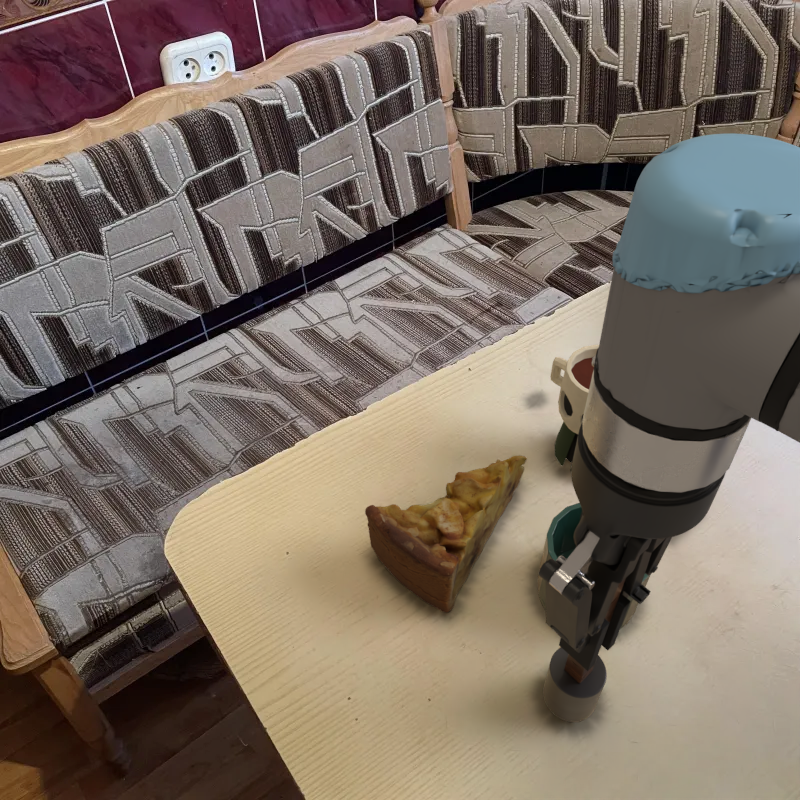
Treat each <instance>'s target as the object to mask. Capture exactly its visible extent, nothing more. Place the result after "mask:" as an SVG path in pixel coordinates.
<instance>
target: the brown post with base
mask: <svg viewBox="0 0 800 800" xmlns="http://www.w3.org/2000/svg"><path fill="white" fill-rule="evenodd" d="M625 579H626V578H625ZM625 579H624V580H623V581H622V582H621V583H619V585H618V587H617V590H616V592H615V595H614V597H613V600H612V602H611V604H610V607H609V609H608V612H607V614H606V617H605V619H606V620H607V621H608V622H609V623H610V620H611V618H612V615H613V612H614V609H615V607H616V604H617V601H618V598H619V596H620V593H621V590H622V587H623V585H624V582H625ZM607 629H608V628H607ZM606 632H607V631H606ZM603 640H604V639H603ZM602 643H603V642H602ZM600 651H601V649H600V650H599V653H598V656H597V659H596V662H595V664H594V666H593V667H592V668H591V669H590V670H589V671H587V670H586V669H585V668H583V667H582V666H581V665H580V664H579V663H578V662H577V661H576V660H575V659H574V658H572V657H571V656H570V655H569V654H568V653H567V652H566V651H565V650H564V649H563V648H561V647H559V648H558V649H557V650H556V651H554V653H553V654H552V656H551V659H550V662H549V665H548V669H547V672H546V677H545V680H544V685H543V689H542V695H543V700H544V703H545V705H546V707H547V708H548V710H549V712H551V713H552V714H553V715H554V716H555V717H557V718H559V719H561V720H563V721H566V722H569V723H570V722H571V723H578V722H581V721H584V720H586V719H588V718H590V716H592V715H593V713H594V712H595V710H596V707H597V705H598V702H599V701H600V698H601V695H602V693H603V690H604V687H605V685H606V682H607V674H608V673H607V667H606V665H605V662H604V660H603V659H602V657H601V656H600V655H599V654H600Z"/></svg>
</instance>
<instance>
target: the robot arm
mask: <svg viewBox="0 0 800 800" xmlns="http://www.w3.org/2000/svg"><path fill="white" fill-rule="evenodd" d="M611 258H612V259H611V260H612V261H611V262H612V267H613V271H612V276H611V281H610V287H609V290H608V291H609V292H608V297H607V302H606V307H605V312H604V318H603V322H602V328H601V333H600V339H599V343H598V345H599V348H598V350H597V353H596V355H595V356H594V357H593V358H592V366H593V367H594V370H593V374H592V379H591V383H590V388H589V393H588V397H587V401H586V406H585V410H584V415H583V419H582V424H581V426H580V429H579V433H578V438H577V443H576V447H575V452H574V457H573V461H572V463H571V465H572V467H571V466H570V469H571V471H570V474H571V475H570V476H571V483H572V487H573V490H574V492H575V495H576V498H577V500H578V503H580V505H581V508H582V513H581V516H580V522H579V524H578V526H577V527H576V529H575V532H574V536H573V539H574V543H575V545H576V548H575V550H574V551H573V552H572V553H571V555H570V556H569V557H568V558H567V559H566V558H565V557H564V556H562V555H561V556H559V557H558V558H557V560H556V561H555V560H554V559H549V560H547V561H546V562H545V563H544V564H543V565H542V566H541V569H540V571H539V570H538V573H539V576H540V577H541V578H543V579H544V580H545V581H546V611H545V624H546V625H547V626H548V627H549V628H550V629H551V630H552V631H553V632H554V633H555V634H557V635H558V636H559V637H560V639H559V644H558V646H559V648H563V649H564V650H565V651H566V652H567V653H568V654H569V655H570V656H571V657H572V658H574V659H575V660H576V661H577V662H578V663H579V664H580V665H581V666H582V667H583V668H585V669H586V670H587V671H589V670H590V669H591V668H592V667H593V666H594V664H595V662H596V659H597V656H598V655H599V654H600V651H601V648H602V647H603V648H604V649H605V650H606V651H609V650H610V649H611V648H612V647H613V646H614V645H615V643H616V641H617V638H618V636H619V633H620V630H621V629H622V628H621V625H622V623H623V620H624V618H625V615H626V612H627V610H628V607H629V605H630V602H631V601H630V600H629V599H628V596H630V597H631V598H633V599H634V600H635V601H636V602H637V603H638V605H641V604H642V603H644V602H645V601H646V599H647V598H648V597H649V595H650V594H651V590H650V589H649V588H647V587H645V586H643V585H642V581H643V578H644V575H645V574H647V575H648V576H649V575H650V574H651V575H653V574H654V573H655V572H656V571H657V570H658V568H659V567H658V566H659V564H660V563H661V561H662V558H663V556H664V555H665V553H666V551H667V548H668V546H669V544H670V542H671V541H672V538H673V537H677V536H680V535H683V534H684V533H685V534H686V533H687V532H689V531H691V530H692V529H694V528H695V527H697V526H698V525H699V524H700V523H701V522H702V521H703V520H704V518H705V517H706V516H707V514H708V513H709V510H710V509H711V508H712V505H713V502H714V500H715V498H716V496H717V493H718V491H719V489H720V487H721V486H722V483H723V480H724V478H725V476H726V473H727V471H728V470H729V469H730V468H731V466H732V463H733V460H734V459H735V456H736V454H737V452H738V450H739V447H740V445H741V443H742V440H743V438H744V436H745V434H746V431H747V429H748V427H749V425H750V422H751V421H752V419H753V420H754V421H757V422H759V423H762V424H763V425H766V426H767V427H769V428H771V429H773V430H775V431H776V432H778V433H781V434H783V435H785V436H787V437H789V438H791V439H792V440H794V441H795V442H798V443H800V146H797V145H795V144H792V143H789V142H786V141H783V140H780V139H777V138H772V137H768V136H763V135H755V134H749V133H748V134H747V133H735V132H733V133H712V134H705V135H699V136H695V137H691V138H688V139H685V140H682V141H679V142H677V143H675V144H672V145H670V146H669V147H668V148H666V149H665V150H664V151H662V152H661V153H659V154H657V155H655V156H654V157H652V158H651V160H650V161H649V162H648V163H647V164H646V165H645V166H644V168H643V169H642V171H641V173H640V175H639V177H638V179H637V180H636V184H635V187H634V190H633V194H632V197H631V200H630V203H629V207H628V210H627V214H626V218H625V221H624V224H623V227H622V232H621V235H620V238H619V240H618V241H617V243H616V247H615V249H614V251H613V252H612V257H611ZM651 575H650V576H651ZM625 578H626V579H625ZM624 579H625V582H624V585H623V587H622V590H621V593H620V596H619V598H618V601H617V604H616V607H615V609H614V612H613V615H612V618H611V620H610V623H609V622H608V621H607V620H606V619H605V617H606V614H607V612H608V609H609V607H610V604H611V602H612V600H613V597H614V595H615V592H616V590H617V587H618V585H619V583H621V582H622V581H623V580H624ZM607 628H608V629H607ZM620 628H621V629H620ZM606 631H607V632H606ZM603 639H604V640H603ZM602 642H603V643H602ZM599 650H600V651H599ZM598 653H599V654H598Z"/></svg>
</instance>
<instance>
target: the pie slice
mask: <svg viewBox="0 0 800 800" xmlns="http://www.w3.org/2000/svg"><path fill="white" fill-rule="evenodd" d="M527 460H528V457H526V456H525V455H512V456H510V457H509V458H506V459H502V460H501V459H499V458H498V459H496V461H495V462H492V463H490V464H489V465H488V466H486V467H479V468H475V469H472V470H469V471H457V472H456V473H455V476H454V480H453V481H451V482H447V483H446V485H445V493H446V495H445V496H443V497H439V498H438V499H436V500H434V501H433V502H431V503H427V504H421V505H420V504H413V505H410V506H409V507H408V508H406V509H401V508H400V507H399V506H398V505H397V504H394V503H392V504H389V505H387V506H381V505H380V506H376V505H374V504H370V505H368V506H367V507H366V508H365V510H364V514H365V516H366V519H367V528H368V533H369V534H368V535H369V540H370V546H371V548H372V550H373V552H374V553H375V555H376V557H377V559H378V560H379V561H380V562H381V564H382V565H383V566H384V567H385V569H386V570H387V571H388V572H389V573H390V574H391V575H392V576H393V577H394V578H395V579H396V580H397V581H398V582H399V583H400V584H401V585H402V586H403V587H405V588H406V589H407V590H408V591H410V592H411V593H412V594H414V595H415V596H416V597H417V598H419V599H420V600H422V601H423V602H424V603H426V604H427V605H430V606H431V607H433V608H435V609H436V610H439V611H440V612H442V613H445V614H447V613H450V612H451V611H452V609H453V608H454V606H455V601H456V598H457V595H458V594H459V592H460V590H461V589H462V588H463V586H464V584H465V582H466V581H467V579H468V578H469V575H470V573H471V571H472V568H473V566H474V565H475V564H476V562H477V560H478V559H479V556H480V555H481V554H482V552H483V550H484V547H485V545H486V543H487V541H488V540H489V538H490V537H491V535H492V534H493V532H494V529H495V527H496V525H497V524H498V521H499V520H500V518H501V517H502V515H503V514H504V512H505V511H506V508H507V507H508V506H509V503H510V502H511V500H512V498H513V496H514V493H515V491H516V490H517V488H518V487H519V485H520V482H521V478H522V477H523V474H524V471H525V466H524V465H525V464H526V461H527Z"/></svg>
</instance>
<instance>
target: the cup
mask: <svg viewBox="0 0 800 800" xmlns="http://www.w3.org/2000/svg"><path fill="white" fill-rule="evenodd" d="M581 513H582V508H581V505H580V503H579V502H577V503H574V504H571V505H568V506H566V507H564V508H563V509H562V510H561V511H560V512H558V513H557V514H556V515H555V516H554V517H553V518H552V520H551V522H550V525H549V528H548V530H547V533H546V535H545V539H544V540H545V541H544V545H543V550H542V556H541V560H540V564H539V569H538V574H537V594H538V598H539V600H540V603H541V606H542V607H543V609H544V611H545V612H546V581H545V580H544V579H543V578H541V577H540V576H539V571H540V569H541V566H542V565H543V564H544V563H545V562H546V561H547V560H549V559H554V560H555V561H556V560H557V558H558V557H559V556H561V555H562V556H564V557H565V558H566V559H567V558H568V557H569V556H570V555H571V553H572V552H573V551H574V550H575V548H576V545H575V543H574V539H573V536H574V532H575V529H576V527H577V526H578V524H579V522H580V516H581ZM651 575H652V574H650V575H649V576H648V575H647V574H645V575H644V578H643V581H642V585H643V586H645V587H646V586H647V585H648V582H649V579H650V578H651ZM646 588H647V587H646ZM628 599H629V600H630V601H631V602H630V605H629V607H628V610H627V612H626V615H625V618H624V620H623V623H622V625H621V628H620V630H621V629H622V628H624V627H625V626H626V625H627V624H628V623H629V621H630V620H631V619H632V617H633V616H634V614H635V612H636V610H637V608H638V605H639V603H637V602H636V601H635V600H634V599H633V598H631V597H630V596H628Z"/></svg>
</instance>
